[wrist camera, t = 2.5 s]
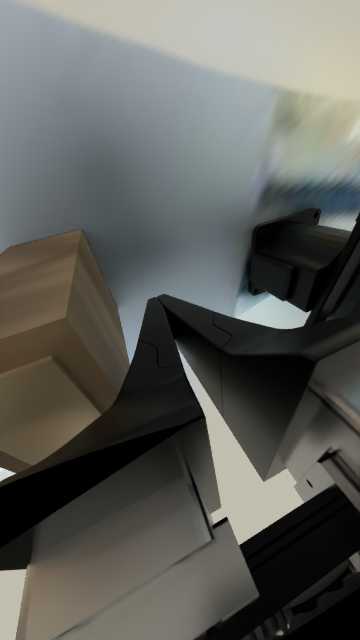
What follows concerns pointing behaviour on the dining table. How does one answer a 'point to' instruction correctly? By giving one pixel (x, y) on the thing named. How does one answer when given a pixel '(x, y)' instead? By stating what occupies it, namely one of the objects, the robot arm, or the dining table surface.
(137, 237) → the dining table surface
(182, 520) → the robot arm
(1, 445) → the walnut block
